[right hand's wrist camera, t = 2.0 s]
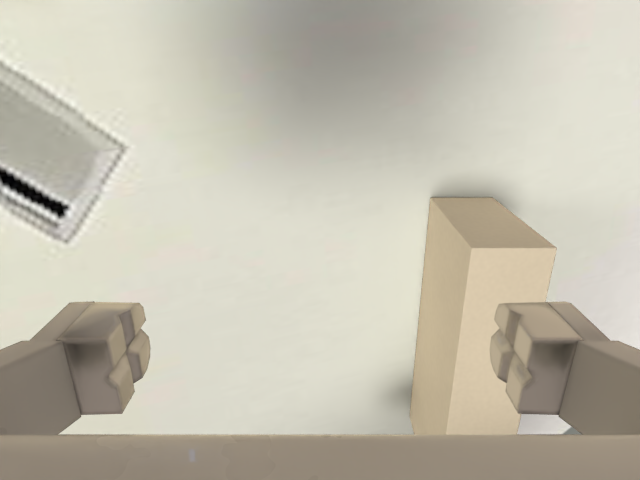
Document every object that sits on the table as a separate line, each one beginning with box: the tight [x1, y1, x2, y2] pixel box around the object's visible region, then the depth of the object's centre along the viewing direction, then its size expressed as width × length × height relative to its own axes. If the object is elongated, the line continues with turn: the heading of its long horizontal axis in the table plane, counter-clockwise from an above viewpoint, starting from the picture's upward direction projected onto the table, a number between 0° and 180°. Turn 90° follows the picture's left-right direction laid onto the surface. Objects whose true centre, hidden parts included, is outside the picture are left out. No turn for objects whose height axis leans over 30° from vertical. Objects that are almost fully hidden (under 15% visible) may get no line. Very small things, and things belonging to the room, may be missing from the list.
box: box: [410, 198, 557, 435], centre depth 40 cm, size 26×6×12 cm, turn 0°
